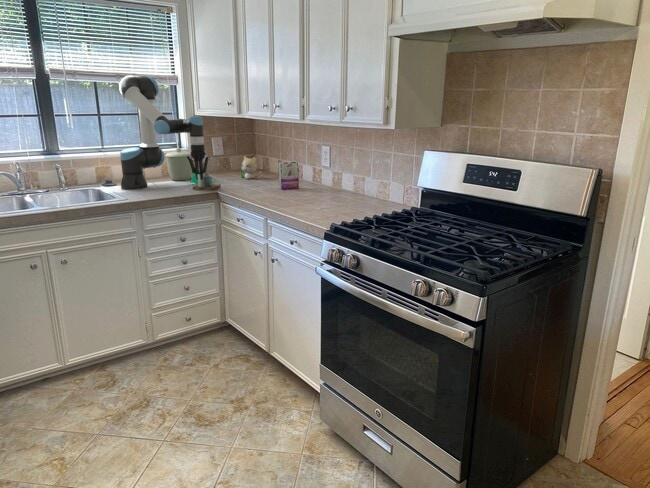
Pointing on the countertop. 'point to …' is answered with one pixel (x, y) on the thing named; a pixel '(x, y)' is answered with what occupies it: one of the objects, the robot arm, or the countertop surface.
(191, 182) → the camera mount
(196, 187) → the post block
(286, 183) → the candy bar box
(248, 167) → the cream rounded figure
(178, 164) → the canister
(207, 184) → the teal stepped block
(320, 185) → the countertop surface
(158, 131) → the robot arm
